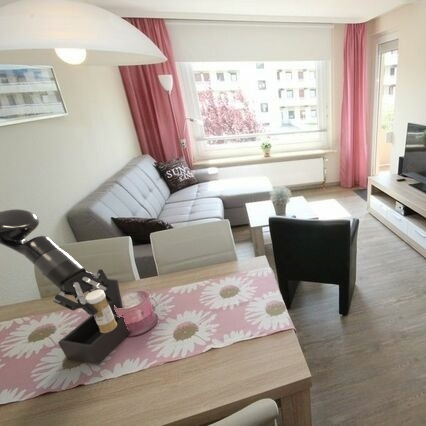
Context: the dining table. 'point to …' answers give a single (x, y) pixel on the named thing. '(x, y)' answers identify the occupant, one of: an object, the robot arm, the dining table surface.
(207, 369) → the dining table surface
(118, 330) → the dark open box
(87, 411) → the dining table surface
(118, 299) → the box lid
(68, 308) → the robot arm
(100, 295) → the sprinkles bottle
